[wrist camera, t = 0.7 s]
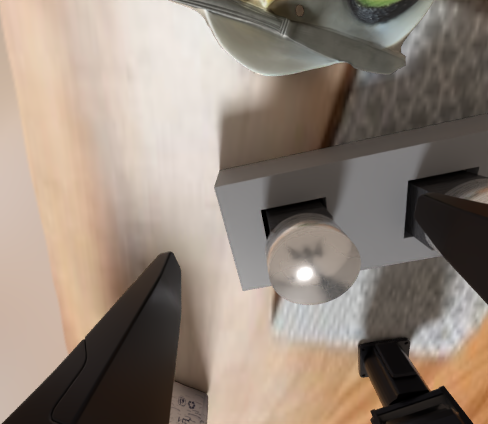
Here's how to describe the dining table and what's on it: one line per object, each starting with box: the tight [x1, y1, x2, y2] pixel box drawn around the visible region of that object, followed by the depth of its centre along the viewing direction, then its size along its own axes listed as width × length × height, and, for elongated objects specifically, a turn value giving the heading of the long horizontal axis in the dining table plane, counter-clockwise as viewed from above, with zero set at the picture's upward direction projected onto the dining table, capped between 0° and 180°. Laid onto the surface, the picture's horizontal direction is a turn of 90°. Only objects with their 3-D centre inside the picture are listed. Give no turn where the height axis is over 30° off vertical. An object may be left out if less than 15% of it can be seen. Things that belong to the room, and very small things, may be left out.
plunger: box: [265, 199, 361, 305], centre depth 18 cm, size 6×6×7 cm
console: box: [214, 113, 488, 291], centre depth 21 cm, size 10×33×5 cm, turn 102°
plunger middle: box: [404, 170, 488, 254], centre depth 17 cm, size 6×6×7 cm
